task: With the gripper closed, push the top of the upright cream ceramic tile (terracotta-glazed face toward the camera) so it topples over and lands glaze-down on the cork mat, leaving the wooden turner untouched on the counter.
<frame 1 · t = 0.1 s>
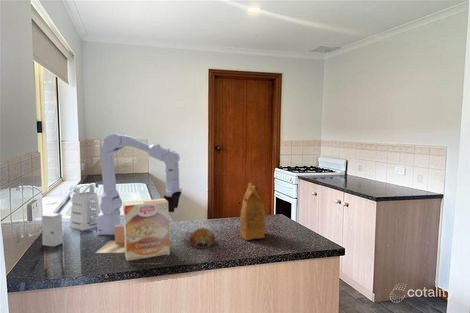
hand: (173, 209, 143), 10 cm above the worktop, tool pointing down, fingers open, 7 cm apart
grater: (86, 226, 156), on the worktop
turner: (156, 238, 136), on the worktop
coffee package: (252, 236, 136), on the worktop
coffeecake box: (147, 255, 117), on the worktop
bread roll: (202, 244, 128), on the worktop
mat: (121, 247, 125), on the worktop
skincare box: (53, 244, 130), on the worktop
tile: (124, 243, 129), resting on mat
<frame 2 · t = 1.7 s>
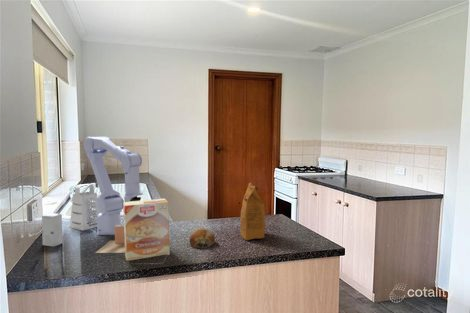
hand: (133, 215, 135), 10 cm above the worktop, tool pointing down, fingers closed
nothing on the worktop moved.
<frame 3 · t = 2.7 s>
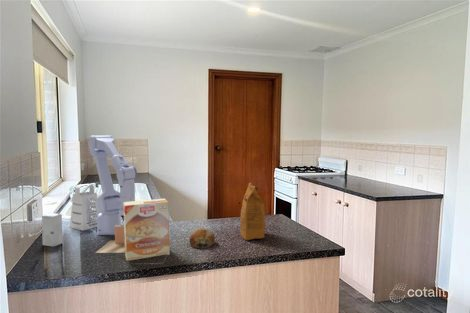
hand: (128, 228, 134), 5 cm above the worktop, tool pointing down, fingers closed
nothing on the worktop moved.
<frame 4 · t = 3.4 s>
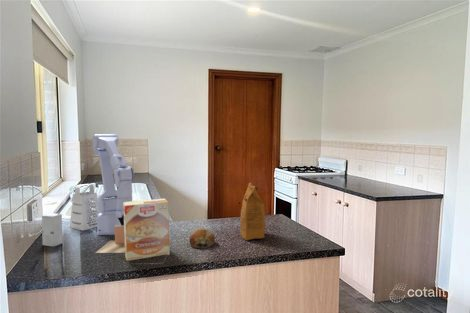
hand: (126, 230, 131), 5 cm above the worktop, tool pointing down, fingers closed
tile: (124, 243, 129), resting on mat, touching gripper
everything else where it was.
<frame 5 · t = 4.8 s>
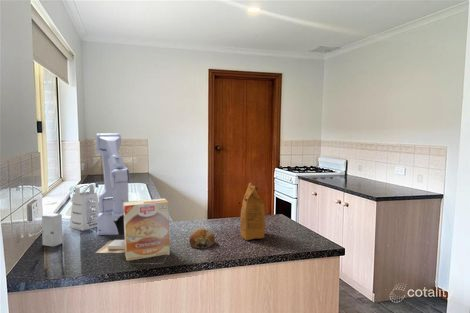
hand: (122, 234, 127), 5 cm above the worktop, tool pointing down, fingers closed
tile: (123, 241, 128), point 1 cm above the worktop, tilted 90°, touching mat
everything else where it was.
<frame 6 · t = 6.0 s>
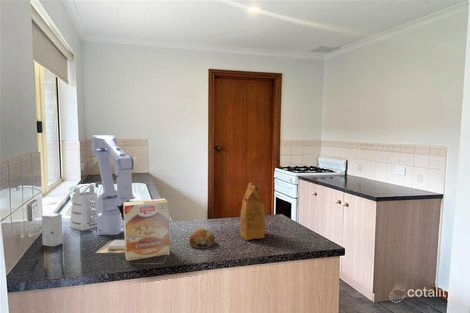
hand: (125, 219, 131), 9 cm above the worktop, tool pointing down, fingers closed
nothing on the worktop moved.
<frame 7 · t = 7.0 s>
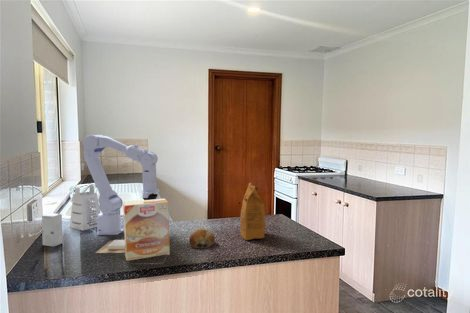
hand: (150, 211, 142), 10 cm above the worktop, tool pointing down, fingers closed
nothing on the worktop moved.
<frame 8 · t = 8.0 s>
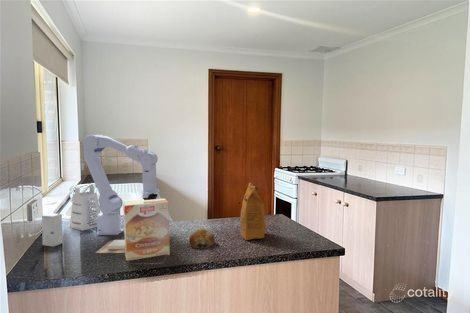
hand: (150, 211, 142), 10 cm above the worktop, tool pointing down, fingers closed
nothing on the worktop moved.
at the end: tile tilted 90°; tile inside the target area on the mat (5.3 cm from its centre), point 1.2 cm above the mat's base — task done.
